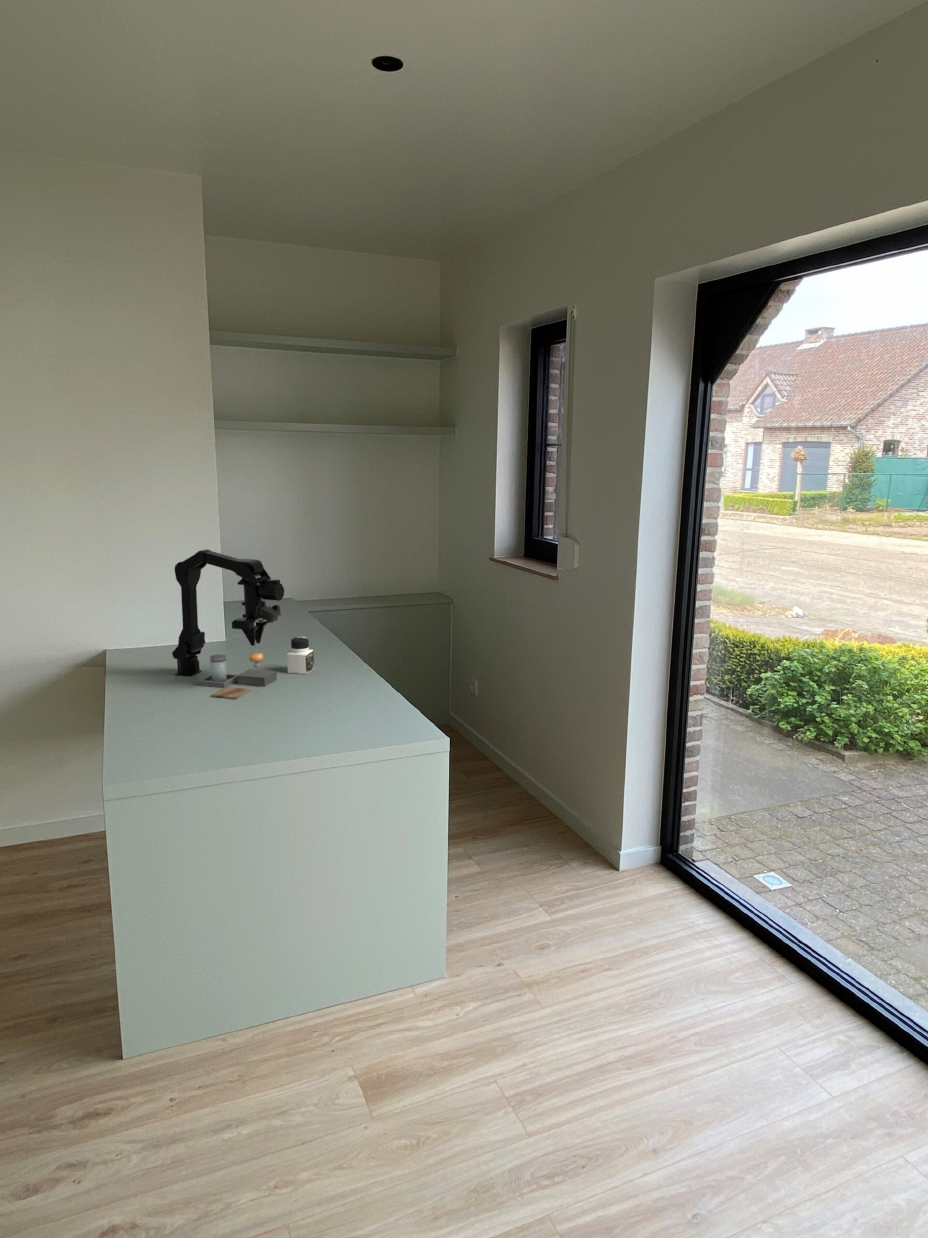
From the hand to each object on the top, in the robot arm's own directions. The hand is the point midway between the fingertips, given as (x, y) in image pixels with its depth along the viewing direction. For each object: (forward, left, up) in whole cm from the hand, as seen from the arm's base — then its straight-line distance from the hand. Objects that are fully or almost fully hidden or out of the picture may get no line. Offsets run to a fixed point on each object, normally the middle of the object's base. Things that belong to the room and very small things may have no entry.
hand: (255, 644), depth 266 cm
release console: (0, 0, -13) cm, 13 cm away
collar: (-12, -4, -13) cm, 18 cm away
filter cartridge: (-12, -4, -13) cm, 18 cm away
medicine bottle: (+8, +16, -13) cm, 22 cm away
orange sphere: (0, 0, -8) cm, 8 cm away
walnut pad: (-2, -14, -13) cm, 19 cm away
